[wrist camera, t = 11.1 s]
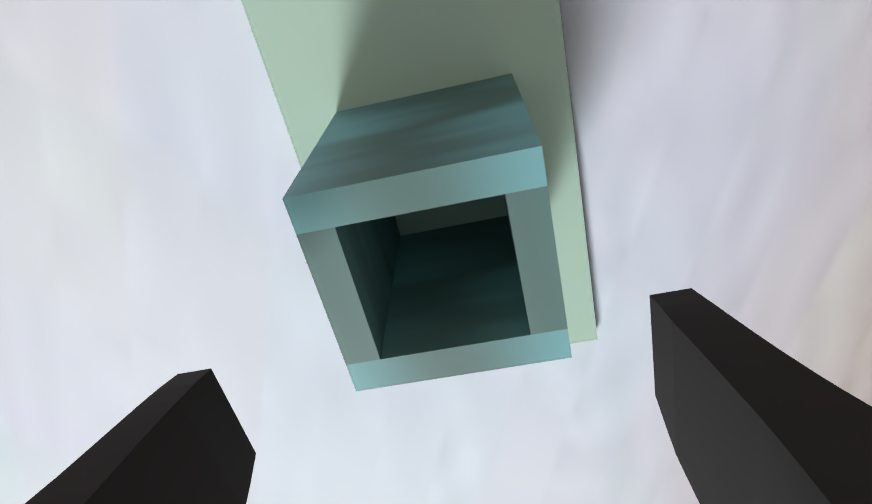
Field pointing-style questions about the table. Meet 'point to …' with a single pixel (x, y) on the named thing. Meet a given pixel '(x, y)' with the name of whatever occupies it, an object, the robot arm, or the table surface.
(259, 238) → the table surface
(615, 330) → the table surface
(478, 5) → the end mat
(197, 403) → the robot arm
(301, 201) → the collar
